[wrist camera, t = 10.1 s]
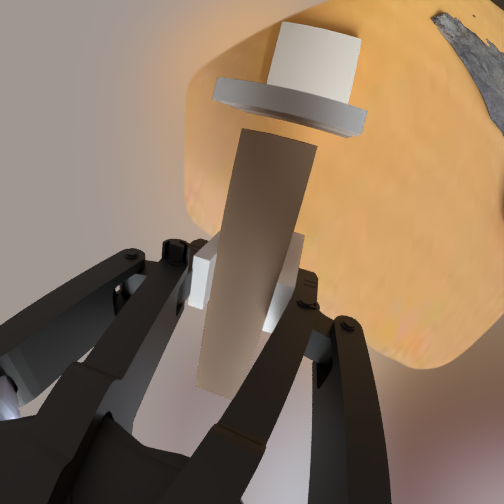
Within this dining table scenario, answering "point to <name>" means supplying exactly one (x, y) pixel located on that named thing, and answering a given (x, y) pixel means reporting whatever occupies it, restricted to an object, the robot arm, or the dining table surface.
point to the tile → (315, 61)
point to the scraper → (259, 221)
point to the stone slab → (478, 63)
